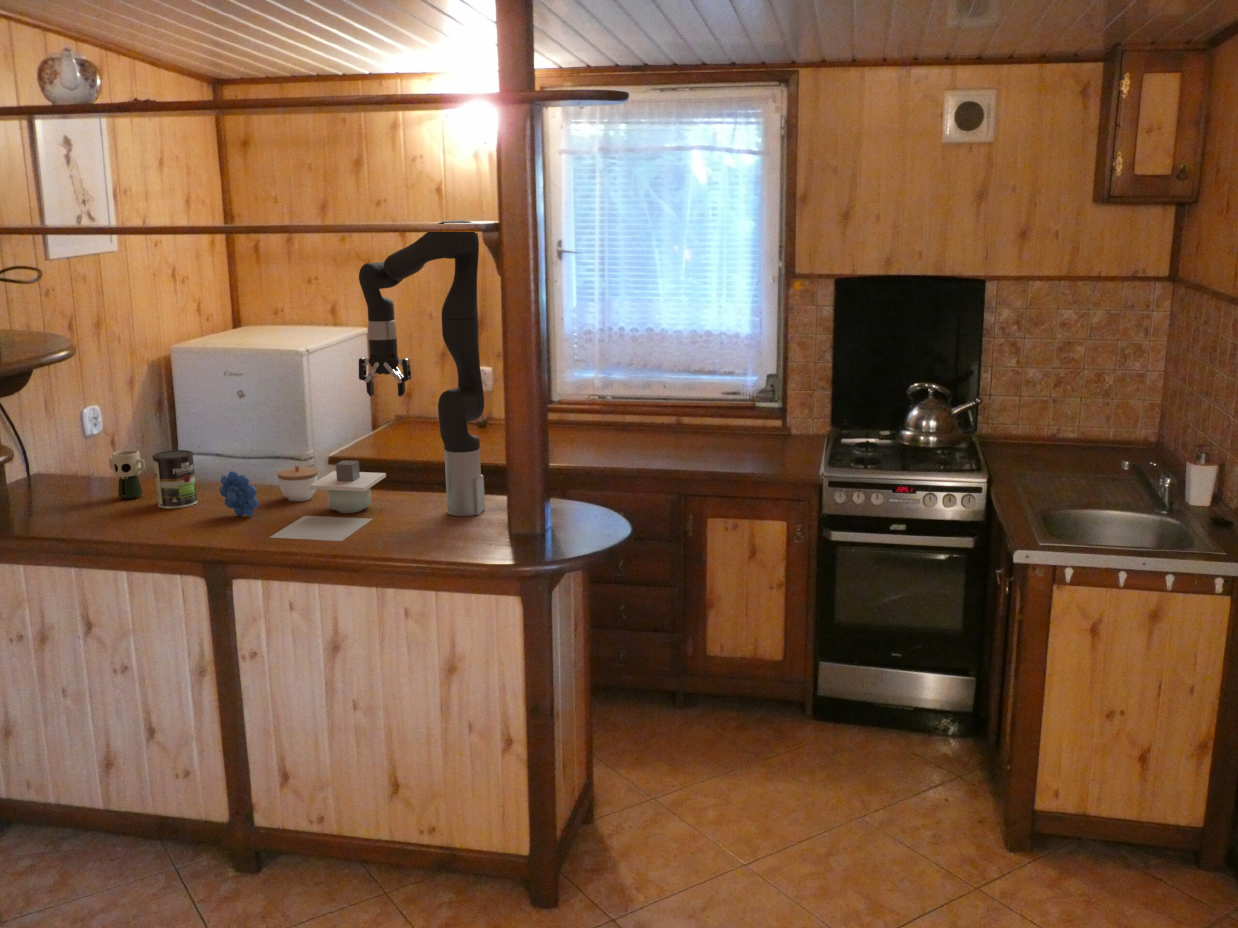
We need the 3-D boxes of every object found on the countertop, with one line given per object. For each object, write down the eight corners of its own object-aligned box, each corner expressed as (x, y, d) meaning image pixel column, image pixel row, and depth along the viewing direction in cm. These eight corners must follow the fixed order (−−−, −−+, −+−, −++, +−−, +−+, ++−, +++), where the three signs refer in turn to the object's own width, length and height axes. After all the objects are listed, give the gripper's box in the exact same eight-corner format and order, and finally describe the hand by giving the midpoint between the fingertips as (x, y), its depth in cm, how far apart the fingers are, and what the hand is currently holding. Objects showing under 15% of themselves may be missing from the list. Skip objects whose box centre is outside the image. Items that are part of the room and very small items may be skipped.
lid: (386, 476, 303) (384, 456, 301) (364, 491, 288) (363, 470, 287) (333, 474, 305) (332, 454, 304) (309, 489, 291) (308, 468, 290)
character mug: (105, 500, 311) (99, 454, 308) (121, 493, 318) (115, 449, 315) (140, 501, 309) (135, 456, 306) (155, 495, 316) (150, 450, 313)
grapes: (211, 518, 293) (207, 473, 290) (228, 511, 299) (224, 467, 296) (248, 522, 289) (244, 477, 286) (264, 515, 295) (260, 471, 292)
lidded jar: (325, 493, 315) (322, 461, 313) (311, 504, 305) (308, 471, 303) (288, 493, 316) (285, 461, 314) (273, 503, 306) (270, 470, 304)
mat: (372, 519, 290) (372, 518, 290) (341, 542, 272) (341, 540, 272) (304, 516, 293) (304, 515, 293) (269, 538, 275) (269, 537, 275)
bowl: (377, 505, 303) (376, 478, 301) (361, 517, 292) (359, 488, 291) (339, 503, 305) (337, 476, 303) (322, 515, 294) (320, 487, 293)
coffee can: (206, 502, 308) (200, 452, 305) (174, 511, 300) (168, 460, 297) (181, 497, 314) (176, 448, 310) (149, 505, 305) (143, 455, 302)
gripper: (412, 335, 306) (415, 394, 309) (363, 334, 308) (367, 392, 312) (402, 339, 298) (405, 398, 302) (352, 338, 301) (356, 397, 305)
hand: (386, 395), depth 307 cm, fingers open, 8 cm apart
